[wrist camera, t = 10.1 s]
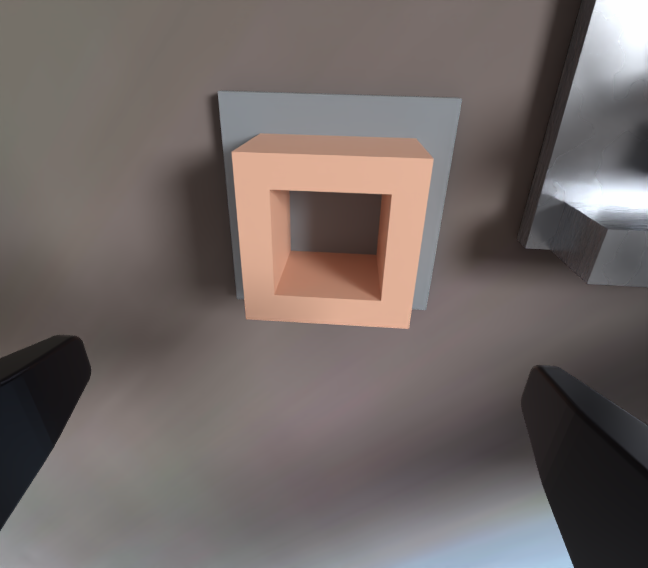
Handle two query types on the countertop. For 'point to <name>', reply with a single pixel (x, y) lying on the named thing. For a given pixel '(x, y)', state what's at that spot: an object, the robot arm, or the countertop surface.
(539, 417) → the robot arm
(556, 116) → the grey plate with rod
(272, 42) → the countertop surface
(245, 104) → the mat
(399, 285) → the collar
